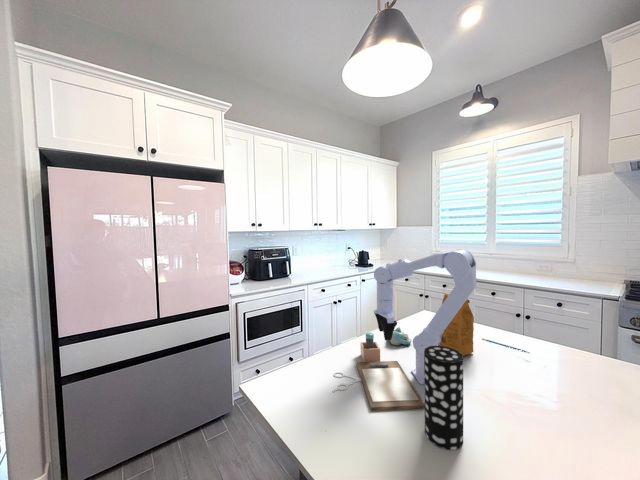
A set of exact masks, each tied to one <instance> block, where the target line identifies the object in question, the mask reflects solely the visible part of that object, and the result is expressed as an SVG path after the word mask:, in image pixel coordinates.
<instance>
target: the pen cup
mask: <svg viewBox="0 0 640 480" xmlns="http://www.w3.org/2000/svg"><path fill="white" fill-rule="evenodd" d="M360 356H361V359H363V360H362V362H380V361H381V348H380V346H379V344H378V342H377V341H373V349H366V341H361V342H360Z"/></svg>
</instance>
